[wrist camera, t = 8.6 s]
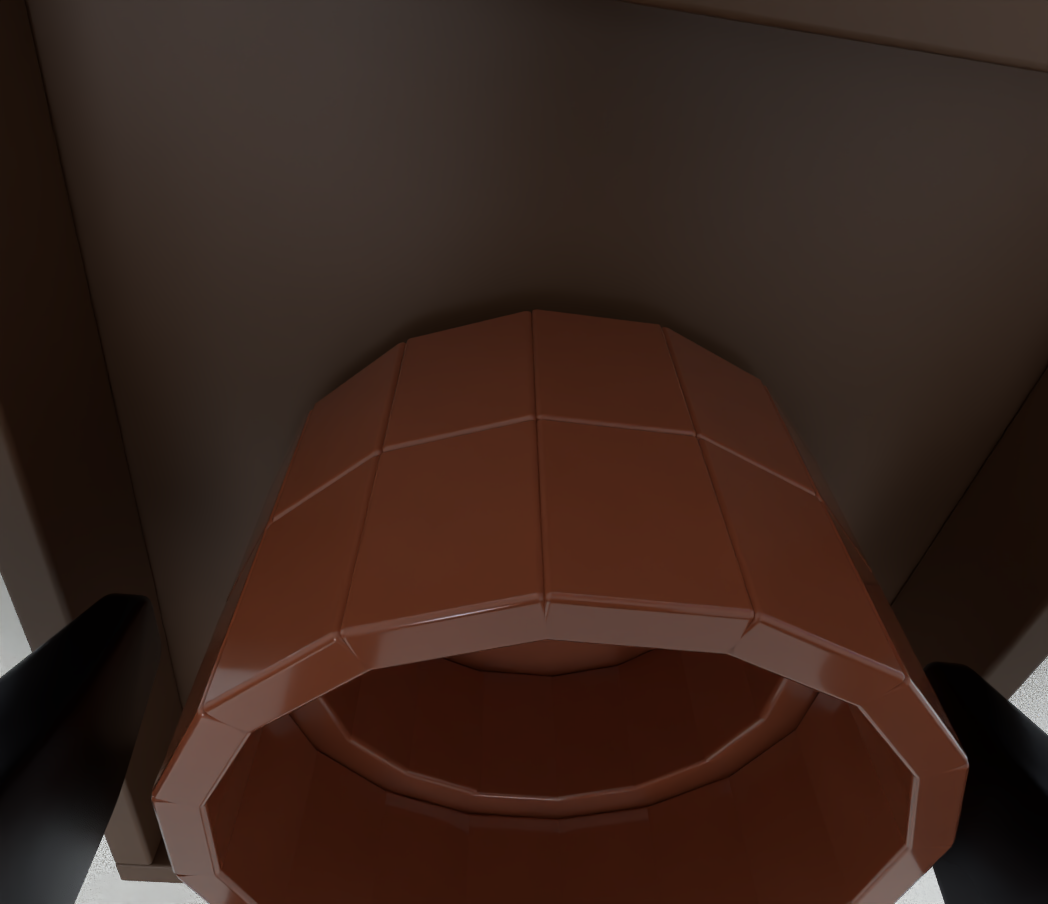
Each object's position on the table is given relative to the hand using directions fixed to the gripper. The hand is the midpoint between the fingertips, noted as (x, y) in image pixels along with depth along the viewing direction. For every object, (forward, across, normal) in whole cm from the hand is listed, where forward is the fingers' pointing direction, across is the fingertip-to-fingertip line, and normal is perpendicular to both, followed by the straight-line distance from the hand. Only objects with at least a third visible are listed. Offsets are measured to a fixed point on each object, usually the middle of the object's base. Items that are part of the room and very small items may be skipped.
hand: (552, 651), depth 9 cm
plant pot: (+2, 0, 0) cm, 2 cm away
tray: (+3, 0, 0) cm, 3 cm away
